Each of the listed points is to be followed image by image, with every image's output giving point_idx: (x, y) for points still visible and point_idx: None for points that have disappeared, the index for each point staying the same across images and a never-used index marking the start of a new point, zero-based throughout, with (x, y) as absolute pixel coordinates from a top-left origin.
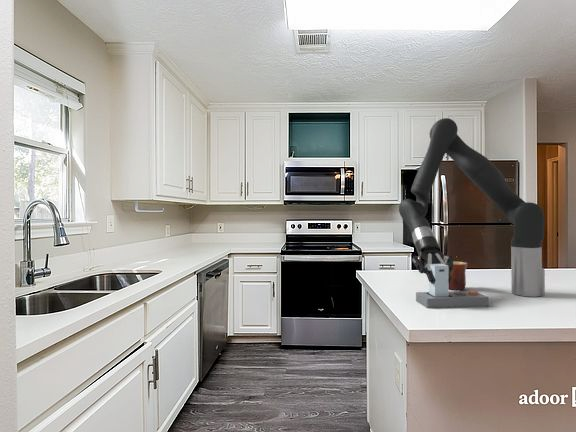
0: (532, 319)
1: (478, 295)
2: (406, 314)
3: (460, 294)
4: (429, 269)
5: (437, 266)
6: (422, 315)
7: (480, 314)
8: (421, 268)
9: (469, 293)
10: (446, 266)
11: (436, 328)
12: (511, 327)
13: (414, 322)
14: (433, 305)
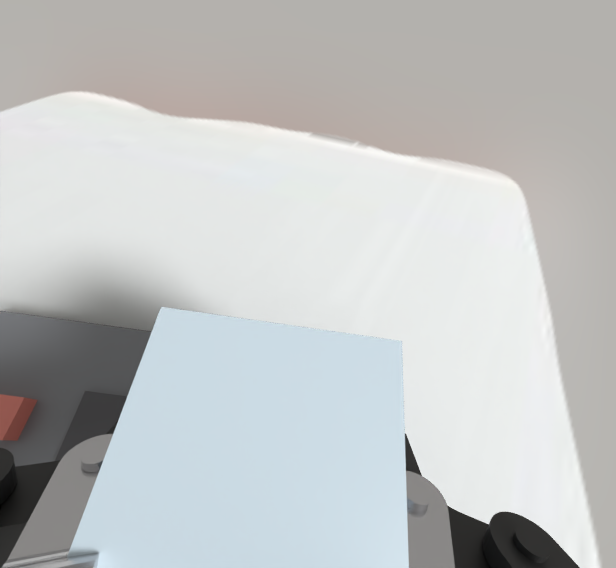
0: (87, 153)
1: (16, 361)
2: (507, 305)
3: (121, 404)
4: (416, 481)
5: (352, 339)
6: (446, 278)
7: (210, 236)
8: (553, 552)
9: (24, 420)
10: (198, 317)
11: (447, 167)
12: (232, 125)
13: (497, 220)
14: None
